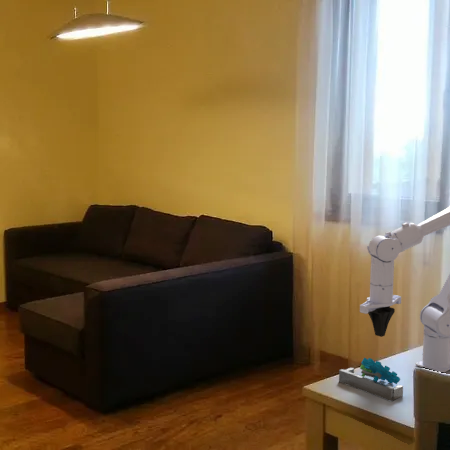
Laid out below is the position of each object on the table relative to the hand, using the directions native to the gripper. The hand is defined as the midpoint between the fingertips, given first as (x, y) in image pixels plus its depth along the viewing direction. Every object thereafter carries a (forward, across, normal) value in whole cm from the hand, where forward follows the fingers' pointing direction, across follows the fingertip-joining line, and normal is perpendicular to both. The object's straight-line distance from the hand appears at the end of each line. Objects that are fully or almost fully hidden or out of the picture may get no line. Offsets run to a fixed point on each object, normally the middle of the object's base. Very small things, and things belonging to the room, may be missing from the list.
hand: (379, 335), depth 175 cm
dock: (+9, +11, +6) cm, 16 cm away
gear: (+10, +8, +6) cm, 14 cm away
